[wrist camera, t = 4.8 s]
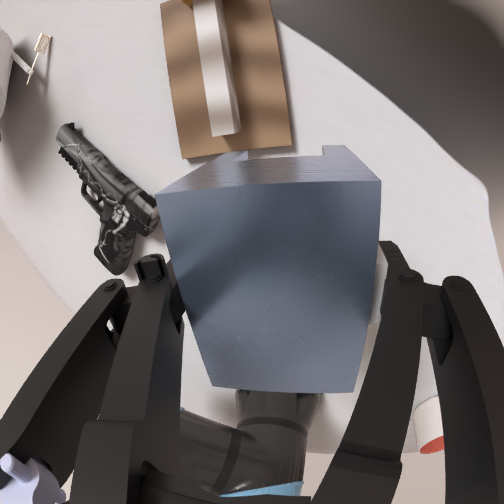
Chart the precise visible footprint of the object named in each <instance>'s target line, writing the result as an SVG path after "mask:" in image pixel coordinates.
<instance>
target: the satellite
mask: <svg viewBox="0 0 504 504" xmlns="http://www.w3.org/2000/svg"><path fill="white" fill-rule="evenodd" d="M41 36H42V37H41ZM43 37H44V38H43ZM40 38H41V40H42V38H43V41H42V43H41V40H40ZM45 38H47V39H46V42H45V44H44V47H43V49H41V46H42V44H43V42H44V39H45ZM48 39H49V40H48ZM50 39H51V36H50V37H49V36H47V34H46V35H44V34H43V33H41V35H40V37H39V40H40V42H39V40H38V42H37V44H36V47H35V49H34V51H35V50H36V51H37V50H38V53H37V55H36V58H35V61H34V63H33V66H32V69H31V68H30V67H29V66H28V65H27V64H26V63H25V62H24V61H23V60H22V59H21V58H20V57H19V56H18V55H17V54H16V53H15V52H14V48H13V43H12V40H11V38H10V37H9V35H8V34H7V33H6V32H5V31H4V30H2V29H0V118H1V117H2V115H3V112H4V108H5V104H6V98H7V90H8V84H9V78H10V73H11V68H12V63H13V60H14V61H15V62H16V63H17V64H18V65H19V66H20V67H21V68H22V69H23V70H24V71H25V72H26V73H27V74H29V78H28V81H27V84H26V85H28V82H29V79H30V76H31V75H33V72H34V71H33V67H34V64H35V62H36V59H37V56H38V54H39V51H40V52H41V53H45V51H46V48H47V46H48V43H49V41H50ZM47 40H48V42H47ZM38 43H39V44H38ZM40 43H41V45H40ZM46 43H47V45H46ZM37 45H38V47H37ZM39 45H40V48H39ZM45 45H46V47H45ZM44 48H45V50H44ZM0 141H1V133H0Z"/></svg>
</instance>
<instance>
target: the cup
mask: <svg viewBox="0 0 504 504" xmlns="http://www.w3.org/2000/svg"><path fill="white" fill-rule="evenodd" d="M413 420H414V426H415V432H416V439H417V447H418V452H419V453H421V454H430V453H434V452H438V451H441V450H443V449H444V437H443V427H442V418H441V411H440V403H439V397H438V396H435V397H432V398H430V399H428V400H426V401H424V402H423V403H422V404H420V405H419V406H418V407H417V408H416V410H415V412H414V414H413Z"/></svg>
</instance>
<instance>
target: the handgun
mask: <svg viewBox="0 0 504 504" xmlns="http://www.w3.org/2000/svg"><path fill="white" fill-rule="evenodd" d="M56 137H57V138H56V141H57V142H58V143H59V145H60V146H61V148H60V150H59V152H58V153H59V154H62V155H61V156H62V157H63V158H64V157H65V158H66V159H65V160H66V161H67V162H68V161H69V165H71V166H73V167H72V168H73V169H74V170H76V171H77V173H78V174H79V178H80V179H82V180H83V183H82V187H81V194H82V196H83V197H84V199H85V200H86V201H87V202H88V203H89V204H90V206H91V207H92V208H93V209H94V210H95V211H96V212H97V213H98V214H99V215H100V222H101V228H100V234H99V241H98V245H97V246H96V247H95V249H94V255H95V256H96V257H97V258H98V259H99V261H100V262H101V263H102V264H103V265H104V267H106V268H107V269H108V270H109V271H110V272H111V273H112V274H114V275H116V276H117V275H120V274H122V273H123V272H124V271H125V270H126V269H127V266H128V264H129V261H130V258H131V254H132V249H133V244H134V239H135V232H136V233H138V234H140V235H142V236H143V237H146V236H148V235H149V234H150V233H151V232H153V231H154V230H155V228H156V226H157V223H158V220H159V216H160V215H159V211H158V207H157V203H156V199H153V198H151V197H150V196H149V195H148V194H147V193H146V192H145V191H144V190H143V191H141V190H140V189H139V188H138V187H137V186H136V185H135V184H133V183H132V182H131V181H130V180H129V179H128V178H127V177H126V176H124V175H123V174H122V173H120V172H118V171H117V170H116V169H115V168H114V167H113V166H112V165H110V164H109V163H108V162H107V161H106V160H105V157H104V156H103V155H102V154H101V153H100V152H99V151H98V150H97V149H96V148H94V147H93V146H92V145H91V144H90V143H89V142H88V141H86V140H85V139H84V138H83V137H82V136H81V135H80V134H79V133H78V132H77V131H76V130H75V129H74V123H70V124H69V123H68V124H64V125H63V126H61V127H60V128H59V131H58V133H57V136H56ZM87 185H88V186H89V187H90V188H91V189H92V190H93V191H94V192H95V193H96V194H97V195H98V200H97V201H94V199H93V198H92V197H91V196H90V195H89V194H88V193H87V191H86V187H87ZM102 200H103V202H104V208H103V209H102V208H101V207H100V206H99V205H98V203H100V202H101V201H102Z"/></svg>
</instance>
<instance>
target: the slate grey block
mask: <svg viewBox="0 0 504 504" xmlns="http://www.w3.org/2000/svg"><path fill="white" fill-rule="evenodd" d="M322 153H323V156H300V157H282V158H267V159H255V160H248V152H247V150H245V151H236V152H227V153H224V154H223V155H221V156H219V157H217V158H215V159H213V160H212V161H210V162H208V163H206V164H205V165H203V166H201V167H199V168H198V169H196V170H194V171H192V172H191V173H189V174H187V175H186V176H184V177H182V178H181V179H179V180H177V181H176V182H174V183H172V184H171V185H169V186H168V187H166V188H164V189H163V190H161V191H160V192H158V193H156V194H155V198H156V203H157V207H158V211H159V215H160V220H161V224H162V228H163V232H164V235H165V239H166V243H167V247H168V251H169V254H170V258H171V262H172V265H173V269H174V272H175V276H176V279H177V283H178V286H179V289H180V293H181V296H182V299H183V302H184V306H185V309H186V312H187V315H188V318H189V321H190V324H191V327H192V330H193V333H194V336H195V339H196V342H197V345H198V348H199V351H200V353H201V356H202V359H203V362H204V364H205V367H206V370H207V373H208V375H209V378H210V380H211V383H212V386H216V387H224V388H233V389H243V390H255V391H269V392H289V393H349V392H353V391H354V387H355V383H356V379H357V375H358V371H359V366H360V362H361V357H362V353H363V348H364V343H365V338H366V332H367V327H368V321H369V315H370V309H371V302H372V295H373V288H374V280H375V272H376V263H377V253H378V241H379V227H380V209H381V180H380V179H379V178H378V177H377V176H376V175H375V174H374V173H373V172H372V171H371V170H370V169H369V168H368V167H367V166H366V165H365V164H364V163H363V162H362V161H361V160H360V159H359V158H358V157H357V156H356V155H355V154H353V153H352V152H351V151H350V150H349V149H348V148H347V147H346V146H345V145H322Z"/></svg>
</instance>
